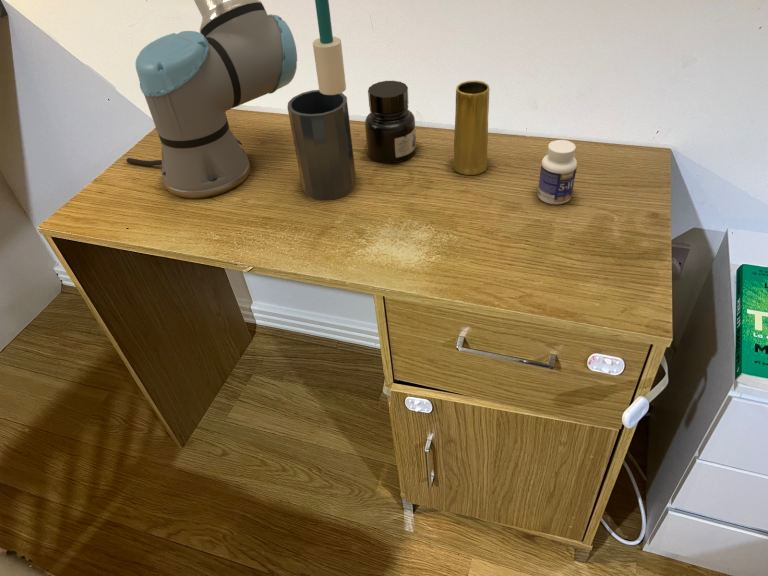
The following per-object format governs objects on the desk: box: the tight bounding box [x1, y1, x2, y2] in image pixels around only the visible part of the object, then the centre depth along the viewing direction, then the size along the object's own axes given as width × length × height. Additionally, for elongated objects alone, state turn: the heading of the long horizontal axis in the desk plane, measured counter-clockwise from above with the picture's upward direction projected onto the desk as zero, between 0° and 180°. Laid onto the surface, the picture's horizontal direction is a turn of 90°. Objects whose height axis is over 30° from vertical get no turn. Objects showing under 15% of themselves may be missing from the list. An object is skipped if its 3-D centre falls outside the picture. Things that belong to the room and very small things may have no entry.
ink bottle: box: [364, 80, 417, 163], centre depth 104 cm, size 10×9×12 cm
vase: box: [452, 80, 490, 176], centre depth 98 cm, size 6×6×14 cm
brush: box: [312, 0, 347, 95], centre depth 80 cm, size 4×4×24 cm
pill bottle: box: [537, 139, 578, 205], centre depth 91 cm, size 5×5×9 cm
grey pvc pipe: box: [287, 89, 357, 201], centre depth 96 cm, size 9×9×15 cm
